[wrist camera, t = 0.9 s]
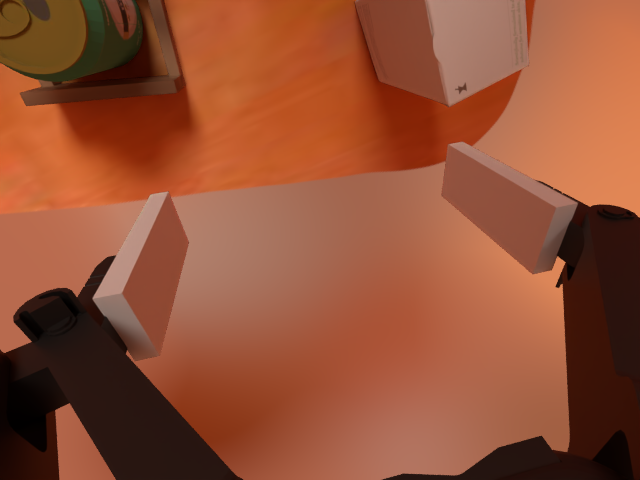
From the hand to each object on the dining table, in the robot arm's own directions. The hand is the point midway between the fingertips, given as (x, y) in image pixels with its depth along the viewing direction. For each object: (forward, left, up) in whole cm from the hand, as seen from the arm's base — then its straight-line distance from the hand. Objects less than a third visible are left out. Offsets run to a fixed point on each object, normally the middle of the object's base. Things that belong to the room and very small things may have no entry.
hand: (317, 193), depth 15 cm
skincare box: (-6, +13, -24) cm, 28 cm away
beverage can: (-8, -15, -24) cm, 29 cm away
